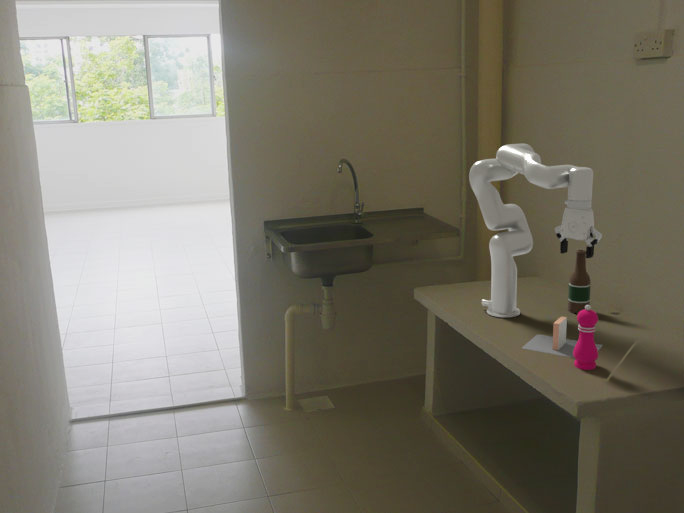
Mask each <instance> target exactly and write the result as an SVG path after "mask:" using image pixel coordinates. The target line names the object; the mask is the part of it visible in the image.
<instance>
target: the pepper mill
mask: <svg viewBox="0 0 684 513" xmlns="http://www.w3.org/2000/svg"><path fill="white" fill-rule="evenodd" d="M576 315H577V316H576V321H577V323H578V328H577V330H578V331H579V335H578V340H577V341H578V342H577V344H576V345H575V347H574V350H573V356H574V358H573V359H575V360H574V363H573V366H574V367H575V368H577V369H580V370H584V371H587V370H588V371H589V370H594V369H596V367H597V362H596V360H597V359H598V357H599V350H597V347H596V345H595V344H596V342H595V336H594V334H595V331H596V330H597V329H596V328H597V327H596V324H597V323H598V322H599V318H598V317H599V316H598V313H597V312H596V311H594V310H593V309H592V306H591V305H590V304H589V305H586V306H585V309H584V310H581V311H580V312H579V313H578V314H576Z"/></svg>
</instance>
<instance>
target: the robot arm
mask: <svg viewBox="0 0 684 513" xmlns="http://www.w3.org/2000/svg"><path fill="white" fill-rule="evenodd" d="M518 174H521V175H523V176H524V177H525V178H526V180H527V181H528V182H529V183H530V184H533V185H535V186H537V187H540V188H542V189H547V190H555V189H560V188H567V199H565V200H564V204H565V205H566V207H565V208H564V211H563V212H562V219H561V224H560V225H558V226H556V227H554V232H555V235H556V237H557V238H558V241H559V242H560V243H559V244H560V246H559V248H560V249H559V250H560V251H559V252H560V254H566V253H568V248H569V246H568V245H569V241H568V239H571V240H577V241H582V242H583V241H584V242H585V243H586V244H587V246H586V248H585V251H586V259H591V258H593V257H594V254H595V246H596V245H597V244H598V243H600V241H601V239H602V237H603V233H601V232H600V231H598V230H597V229H596V228H595V217H594V211H593V209H592V203H593V202H592V199H593V182H594V170H593V169H592V168H590V167H586V166H576V165H573V164H561V165H560V164H559V165H549V166H548V165H544V164H542V159H541V157H540V154H538V153H537V152H535V151H534V148H533V147H532V146H531V145H530V144H527V143H523V142H522V143H510V144H509V143H508V144H505V145H504V144H503V145H502V146H501V147H500V148H498V150H497V151H496V154H495V158H484V159H482V160H478V161H476V162H474V163H473V165H471V167H470V170H469V174H468V178H469V179H468V181H469V184H470V188H471V190H472V192H473V194H474V196H475V197H476V200H477V202H478V206H479V209H480V211H481V214H482V218H483V220H484V223H485V226H486V228H487V229H488V230H490V231H492V232H493V231H503V230H508V231H504V232H499V233H496V234H495V235H493V236H492V237H491V238H490V240H489V243H488V246H489V247H488V248H489V254H490V262H491V280H490V281H491V282H490V284H491V286H490V299H489V300H487V299H481V306H483V307H488V308H486V314H487V315H489V316H492V317H495V318H506V319H508V318H515V317H517V316H519V315H520V314H521V310H520V309H519V308H518V307H517V290H518V288H517V285H518V267H517V264H516V262H515V260H514V257H516V256H522V255H525V254H529V253H530V252H531V250H532V249H533V246H534V240H533V235H532V233H531V230H530V227H529V224H528V221H527V218H526V215H525V213H524V211H523V210H522V208H521V207H520V206H519V205H517V204H515V203H507V204H506V203H505V204H504V202H503V201H502V198H501V195H500V193H499V191H498V189H497V188H496V187H495V186H494V185H493V184H492V183H491V182H498V181H506V180H509V179H511V178H513V177H514V176H516V175H518ZM594 236H595V238H594Z"/></svg>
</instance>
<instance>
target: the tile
mask: <svg viewBox="0 0 684 513" xmlns="http://www.w3.org/2000/svg"><path fill="white" fill-rule="evenodd" d="M567 320H568V317H567V316H560V317H558V318H557V319H556V321H554V322H553V324H552V326H553V328H552V337H553V350H559V349H560V348H561V347H562V346H563V345H564V344H565V343H566V339H567V322H568V321H567Z"/></svg>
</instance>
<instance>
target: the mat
mask: <svg viewBox="0 0 684 513" xmlns="http://www.w3.org/2000/svg"><path fill="white" fill-rule="evenodd" d="M577 342H578V340H575V339H569V338H566V343H565V344H564V345H563V346H562V347H561V348H560V349H559V350H553V336H551V335H545V334H539V333H538V334H536V335H535V336H534V337H532V339H530V340H529V341H528V342H526V344H524V345H523V346H522V347H521V349H524V350H529V351H534V352H540V353H545V354H550V355H556V356H561V357H562V356H563V357H566V358H573V359H575V358H574V356H573V350H574V347H575V345H576V344H577ZM595 345H596V347H597V350H598V351H600V350H601V348H602V347H603V346H604V345H603V344H598V343H595Z"/></svg>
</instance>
